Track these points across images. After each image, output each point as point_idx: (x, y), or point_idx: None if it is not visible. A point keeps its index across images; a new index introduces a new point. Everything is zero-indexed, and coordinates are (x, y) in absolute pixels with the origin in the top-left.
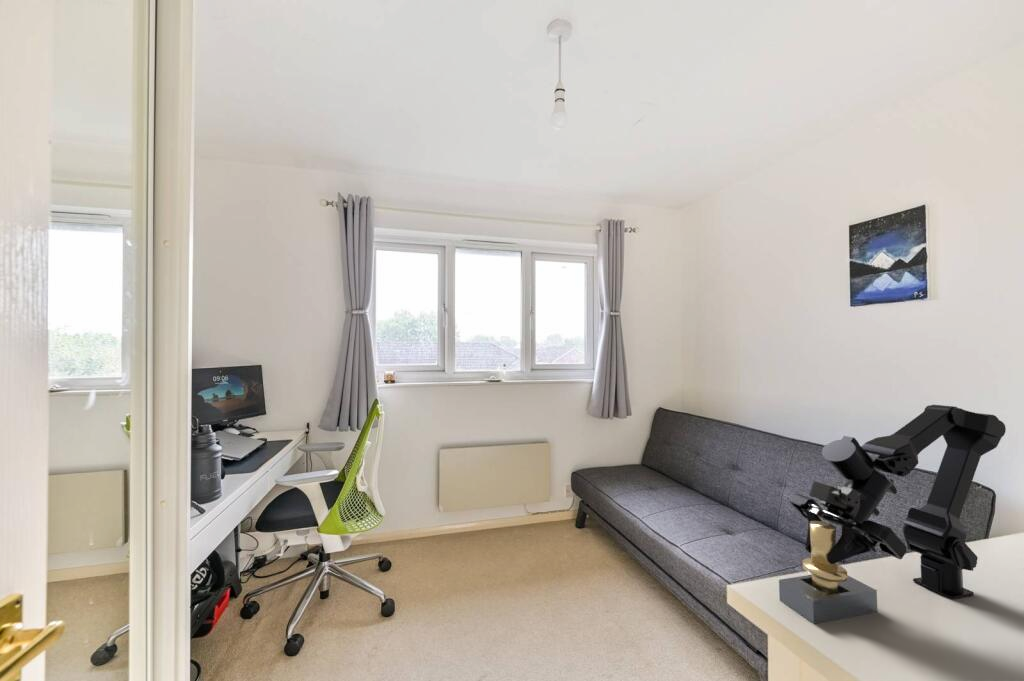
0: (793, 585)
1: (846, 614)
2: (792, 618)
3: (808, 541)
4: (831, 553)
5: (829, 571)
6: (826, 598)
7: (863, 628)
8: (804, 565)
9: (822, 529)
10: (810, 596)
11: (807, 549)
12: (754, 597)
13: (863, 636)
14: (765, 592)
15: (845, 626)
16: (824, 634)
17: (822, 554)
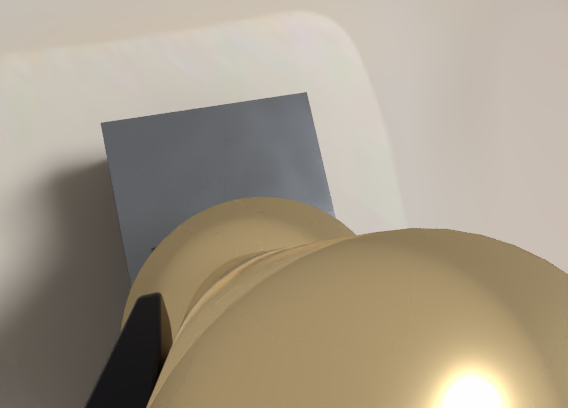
0: (250, 129)
1: None
2: (172, 98)
3: None
4: (142, 354)
5: (185, 313)
6: (120, 218)
7: (92, 358)
8: (295, 202)
9: (188, 346)
10: (143, 142)
11: None
12: (312, 42)
13: (40, 312)
14: (347, 112)
15: (109, 286)
16: (65, 152)
17: (206, 284)
